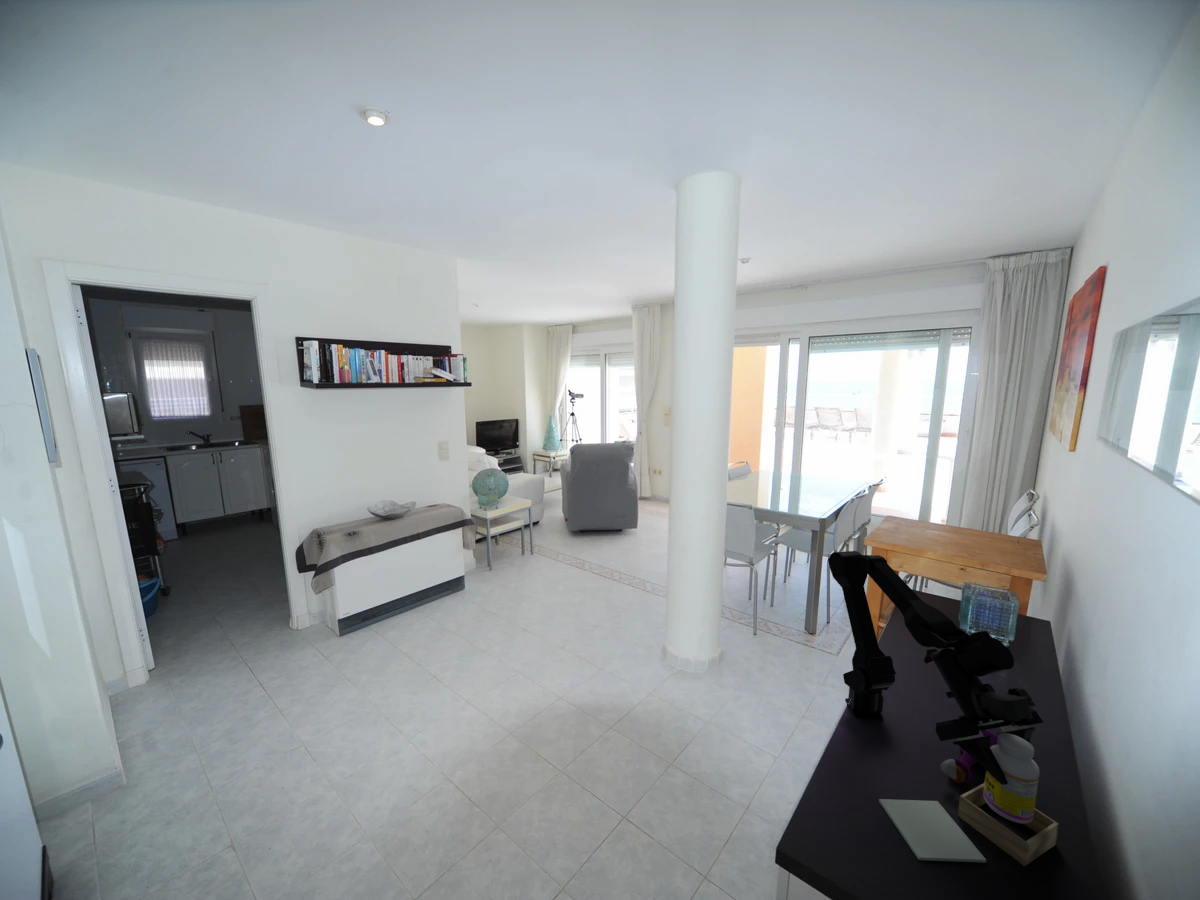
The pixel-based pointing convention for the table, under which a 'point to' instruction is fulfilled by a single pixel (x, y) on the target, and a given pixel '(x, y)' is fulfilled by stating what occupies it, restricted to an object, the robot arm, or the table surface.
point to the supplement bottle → (1013, 780)
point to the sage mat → (930, 831)
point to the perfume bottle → (964, 762)
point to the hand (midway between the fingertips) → (1020, 781)
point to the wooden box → (1004, 836)
